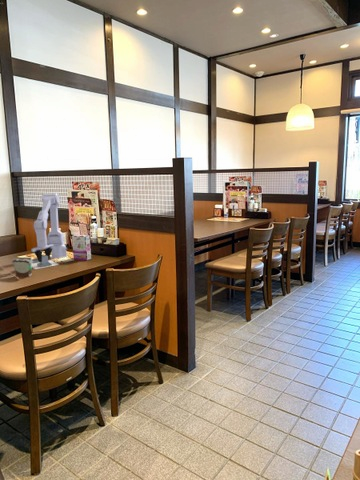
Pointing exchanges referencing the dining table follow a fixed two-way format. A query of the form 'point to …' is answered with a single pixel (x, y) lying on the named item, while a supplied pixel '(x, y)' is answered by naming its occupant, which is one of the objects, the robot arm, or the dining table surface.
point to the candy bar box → (81, 247)
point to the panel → (37, 265)
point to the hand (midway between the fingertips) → (44, 260)
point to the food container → (23, 266)
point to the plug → (44, 260)
